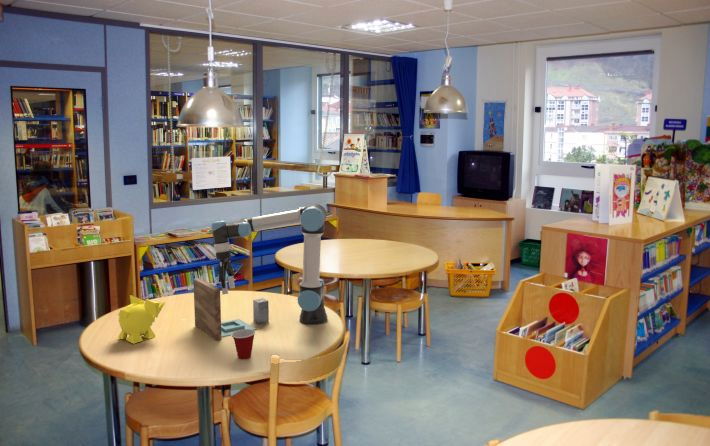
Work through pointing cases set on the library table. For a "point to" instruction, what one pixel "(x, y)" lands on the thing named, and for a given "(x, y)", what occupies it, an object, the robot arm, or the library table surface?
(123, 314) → the piggy bank
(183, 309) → the library table surface
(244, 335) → the plastic cup
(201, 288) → the door panel
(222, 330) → the socket
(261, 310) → the bar
